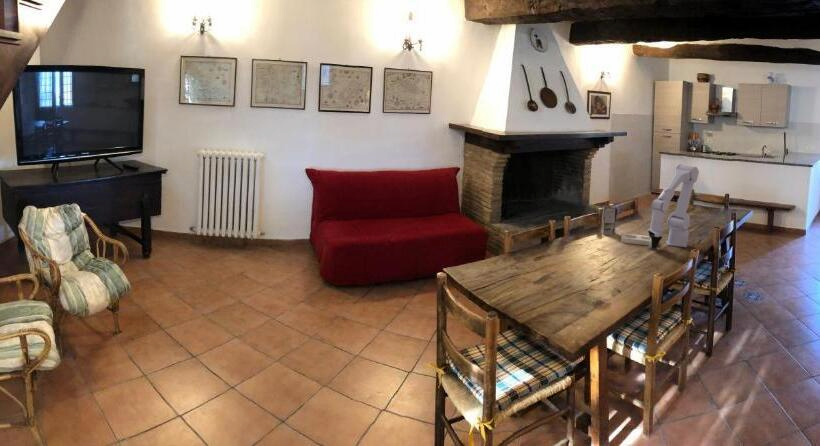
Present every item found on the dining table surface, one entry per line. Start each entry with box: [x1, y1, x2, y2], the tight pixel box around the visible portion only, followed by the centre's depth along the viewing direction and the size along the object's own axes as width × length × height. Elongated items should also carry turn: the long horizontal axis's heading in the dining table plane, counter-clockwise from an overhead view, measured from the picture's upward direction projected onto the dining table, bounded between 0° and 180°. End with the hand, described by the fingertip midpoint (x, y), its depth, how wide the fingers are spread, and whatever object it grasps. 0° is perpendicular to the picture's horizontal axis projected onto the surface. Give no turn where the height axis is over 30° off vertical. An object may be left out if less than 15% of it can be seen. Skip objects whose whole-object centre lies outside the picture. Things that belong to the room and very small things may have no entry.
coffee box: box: [600, 204, 619, 237], centre depth 297 cm, size 9×6×16 cm
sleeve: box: [648, 238, 658, 251], centre depth 270 cm, size 4×4×6 cm
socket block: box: [620, 232, 650, 246], centre depth 284 cm, size 18×11×2 cm, turn 72°
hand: (653, 246), depth 271 cm, fingers open, 7 cm apart
